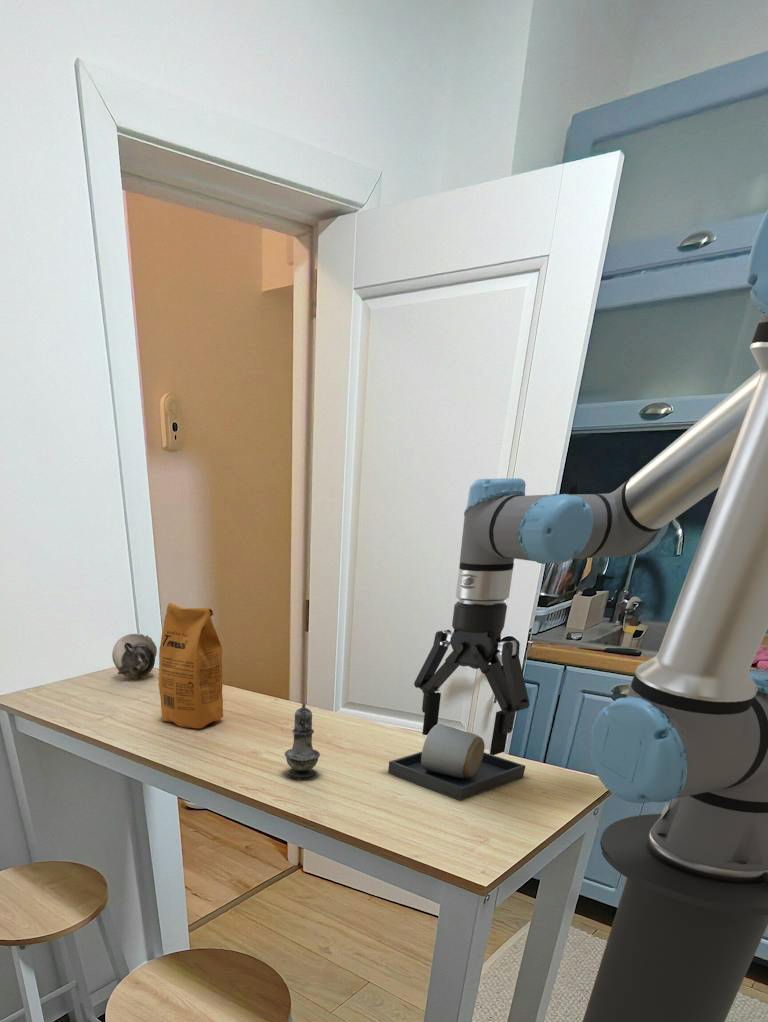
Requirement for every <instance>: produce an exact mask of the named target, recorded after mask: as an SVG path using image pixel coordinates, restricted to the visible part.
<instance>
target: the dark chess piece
mask: <svg viewBox="0 0 768 1022" xmlns="http://www.w3.org/2000/svg"><path fill="white" fill-rule="evenodd" d="M306 706H307V705H306V703H305V702H303V703H302V704H301V707H300V708H298V709H296V710H295V712H294V728H293V729H292V730H291V733H292V734H293V744H292V748H291V749H287V750H286V751H285V752H284V757H286V758H285V759H286V763H287V765H288V767H289V768H290V769H288V770H287V771H286V772H285V776H286V777H287V778H288V779H291V780H296V781H309V780H314V779H316V778H317V777H318V772H317V771H316V770H315V769H313V768H314V767H316V765H317V763H318V761H319V758H320V756H321V753H320V752H319V751H318V750H317V749H314V747H313V734H314V733H315V730H314V729H313V712H312V710H311V709H309V708H307V707H306Z"/></svg>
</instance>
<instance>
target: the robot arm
mask: <svg viewBox="0 0 768 1022" xmlns="http://www.w3.org/2000/svg"><path fill="white" fill-rule="evenodd" d="M746 280H747V281H746V282H747V283H748V285H750V286H751V289H750V291H749V294H750V298H751V300H752V302H753V303H754V305H755V306H756V307H757V309H758V310H759V312H760V313H761V315H760V317H759V320H758V323H757V325H756V329H755V331H754V334H753V338H752V340H751V342H750V346H749V350H750V352H751V354H752V356H753V358H754V360H755V362H756V364H757V366H758V368H759V369H758V370H757V371H755V373H753V374H752V375H751V376H750V377H749V378H747V379H746V380H745V381H744V382H742V383H741V384H740V385H739V386H738V387H737V388H735V389H734V390H733V391H732V392H731V393H730V394H729V395H727V396H726V397H725V398H723V400H721V401H720V402H719V403H718V404H717V405H715V406H714V407H713V408H711V410H710V411H708V412H707V413H706V414H705V415H703V416H702V417H701V418H700V419H699V420H697V422H695V423H694V424H693V425H691V426H690V427H689V428H688V429H687V430H686V431H684V432H683V433H682V434H681V435H680V436H679V437H677V438H676V439H675V440H674V441H673V442H672V443H670V444H669V445H668V446H667V447H666V448H665V449H663V450H662V451H660V453H658V454H657V455H656V456H655V457H653V459H651V460H649V462H648V463H647V464H646V465H644V466H643V467H642V468H641V469H640V470H638V471H637V472H636V473H634V474H633V475H632V476H630V478H628V479H627V480H626V481H624V483H622V484H621V485H620V486H618V488H616V489H615V490H613V491H611V492H609V493H587V494H586V493H583V494H581V493H580V494H574V493H573V494H569V493H551V494H533V495H526V485H527V484H526V481H525V480H524V479H523V478H521V477H520V478H519V477H518V478H517V477H516V478H515V477H514V478H513V477H512V478H509V477H506V478H478V479H475V480H474V481H472V483H471V484H470V485H469V489H468V494H467V501H466V506H465V509H464V512H463V516H464V518H463V527H462V537H461V547H460V556H459V566H458V572H457V573H458V574H457V580H456V581H457V583H456V589H455V597H456V599H458V601H456V602H455V604H454V606H453V614H452V622H451V627H452V628H453V632H452V631H451V629H445V630H439V631H436V632H435V634H434V639H433V645H432V647H431V649H430V651H429V652H428V655H427V657H426V659H425V661H424V662H423V665H422V667H421V669H420V670H419V672H418V674H417V677H416V678H415V680H414V682H413V685H414V687H415V688H416V689H420V690H421V692H422V695H423V696H422V707H421V711H422V713H424V715H423V726H422V733H421V734H422V735H424V736H427V735H428V733H429V731H430V730H431V729H432V728H433V727H434V726H435V725H436V724H439V723H438V722H439V713H440V706H441V698H442V692H439V691H440V688H441V686H442V685H443V684H444V683H445V682H446V681H447V680H448V678H450V677H451V676H452V674H453V673H454V672H455V671H456V670H457V669H458V668H459V667H469V668H471V669H475V670H479V671H480V672H481V673H482V674H483V675H484V677H485V679H486V681H487V682H488V685H489V687H490V689H491V691H492V693H493V695H494V697H495V699H496V701H497V703H498V706H499V708H500V710H498V711H495V718H494V723H493V730H492V737H491V742H490V743H491V744H490V749H489V754H491V755H494V756H497V755H499V754H502V753H505V751H506V745H507V739H508V734H510V733H512V731H513V729H514V725H515V724H514V723H515V717H516V713H517V712H518V711H522V710H526V709H529V707H530V705H531V703H530V699H529V695H528V690H527V686H526V682H525V678H524V673H523V668H522V664H521V660H520V659H521V658H520V648H521V647H520V645H521V643H520V641H519V640H517V639H516V640H515V639H514V640H511V641H502V632H503V630H504V628H505V623H506V617H507V610H508V605H507V603H506V602H505V600H508V599H509V598H510V593H511V587H512V586H511V585H512V577H513V572H514V567H515V566H514V565H515V562H514V561H515V560H524V561H529V562H536V563H537V564H542V565H545V564H564V563H566V562H569V561H571V560H582V559H597V558H598V559H599V558H602V559H603V558H618V559H619V558H620V559H625V558H630V557H633V556H637V555H644V554H646V553H648V552H650V551H652V550H653V549H654V548H656V547H657V546H658V545H659V544H660V543H661V540H662V539H663V537H664V536H665V535H666V533H667V531H668V528H669V526H670V523H671V522H672V521H673V520H675V519H676V518H678V517H679V516H680V515H682V514H684V513H685V512H686V511H687V510H689V509H690V508H692V507H693V506H694V505H696V504H698V503H699V502H700V501H701V500H703V499H704V498H705V497H706V498H707V496H709V495H710V494H711V493H713V492H714V491H716V490H717V492H716V494H715V497H714V499H713V503H712V505H711V508H710V511H709V513H708V517H707V519H706V522H705V525H704V527H703V530H702V533H701V535H700V538H699V541H698V544H697V547H696V549H695V552H694V555H693V557H692V560H691V563H690V566H689V568H688V571H687V574H686V577H685V579H684V582H683V585H682V588H681V590H680V593H679V596H678V597H677V601H676V603H675V607H674V609H673V611H672V614H671V618H670V620H669V622H668V625H667V628H666V631H665V634H664V636H663V639H662V642H661V645H660V647H659V651H658V653H657V654H656V655H655V656H653V657H652V658H649V659H648V660H646V661H644V662H643V663H641V664H639V665H638V666H637V667H636V669H635V672H634V674H633V678H632V681H631V683H630V686H629V689H628V690H627V691H628V692H627V694H626V697H619V698H616V699H615V700H614V701H612V702H610V704H609V705H607V706H605V707H603V709H602V710H600V711H599V713H598V714H597V716H596V717H595V720H594V722H593V725H592V727H591V731H590V735H589V736H590V737H589V753H590V759H591V764H592V765H593V766H594V768H595V772H596V776H597V777H598V779H599V781H600V782H601V784H602V785H603V786H604V788H606V790H608V792H609V793H611V794H612V795H614V796H615V797H617V798H618V799H620V800H623V801H625V802H627V803H632V804H633V803H634V804H648V803H659V804H660V803H666V802H667V803H666V805H665V806H664V807H663V809H662V811H661V814H662V815H661V816H660V817H659V819H658V820H657V821H656V823H655V824H654V825H653V827H652V828H651V830H650V833H649V837H648V840H647V848H648V850H649V852H650V853H651V854H652V855H653V856H654V857H655V858H657V859H658V860H659V861H661V862H662V863H664V864H666V865H668V866H669V867H672V868H674V869H676V870H678V871H681V872H683V873H686V874H689V875H692V876H695V877H699V878H703V879H707V880H712V881H717V882H724V883H733V884H756V883H763V882H765V883H766V885H767V886H768V670H766V669H760V668H753V667H752V664H753V662H754V660H755V658H756V656H757V655H758V654H757V653H758V652H759V649H760V647H761V644H762V643H763V641H764V638H765V636H766V634H767V632H768V208H767V209H766V211H765V213H764V215H763V217H762V219H761V221H760V223H759V226H758V228H757V231H756V234H755V237H754V239H753V243H752V245H751V249H750V252H749V258H748V263H747V279H746ZM450 646H451V648H452V651H451V653H449V655H448V656H447V657H446V658H445V655H446V654H447V651H448V648H449V647H450ZM498 654H499V656H498ZM499 657H501V660H500V659H499ZM444 658H445V660H444V662H443V663H442V660H443V659H444ZM441 663H442V664H441ZM440 664H441V666H440ZM502 667H503V670H502ZM670 801H671V802H670Z"/></svg>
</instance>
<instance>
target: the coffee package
mask: <svg viewBox="0 0 768 1022" xmlns="http://www.w3.org/2000/svg"><path fill="white" fill-rule="evenodd" d="M213 616H214V611H213V609H211V608H210V607H199V608H197V607H196V608H190V607H189V608H183V607H180V606H178V605H176V604H174V603H172V602H169V603H168V604H167V607H166V611H165V615H164V620H163V626H162V632H161V636H160V645H159V647H158V648H159V650H158V651H159V653H158V690H159V698H160V710H161V711H160V712H161V721H162V722H167V723H168V722H169V723H173V724H175V725H176V726H178V727H180V728H189V729H198V730H199V729H204V728H205V727H206V726H207V725H209V724H211V723H213V722H217V721H220V720H221V719H223V718H224V699H223V697H224V696H223V685H224V684H223V647H222V644H221V641H220V639H219V636H218V633H217V630H216V629H215V626H214V623H213V620H212V617H213Z"/></svg>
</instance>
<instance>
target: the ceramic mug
mask: <svg viewBox="0 0 768 1022" xmlns="http://www.w3.org/2000/svg"><path fill="white" fill-rule="evenodd" d="M485 747H486V746H485V741H484V739H483V738H482V737H481V736H479V735H477V734H475V733H472V732H470V731H465V730H461V729H459V728H455V727H452V726H448V725H445V724H442V723H438V724H436V725H435V726H434V727H433V728H432V729H431V730H430V731H429V733H428V735H426V737H425V740H424V742H423V746H422V751H421V752H422V756H421V764H422V767H423V769H424V770H427V771H431V772H435V773H439V774H444V775H449V776H452V777H456V778H461V779H468V778H471V777H472V776H473V775H474V774H475V773H476V772H477V770H478V768H479V766H480V764H481V761H482V758H483V755H484V753H485V749H486V748H485Z"/></svg>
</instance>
